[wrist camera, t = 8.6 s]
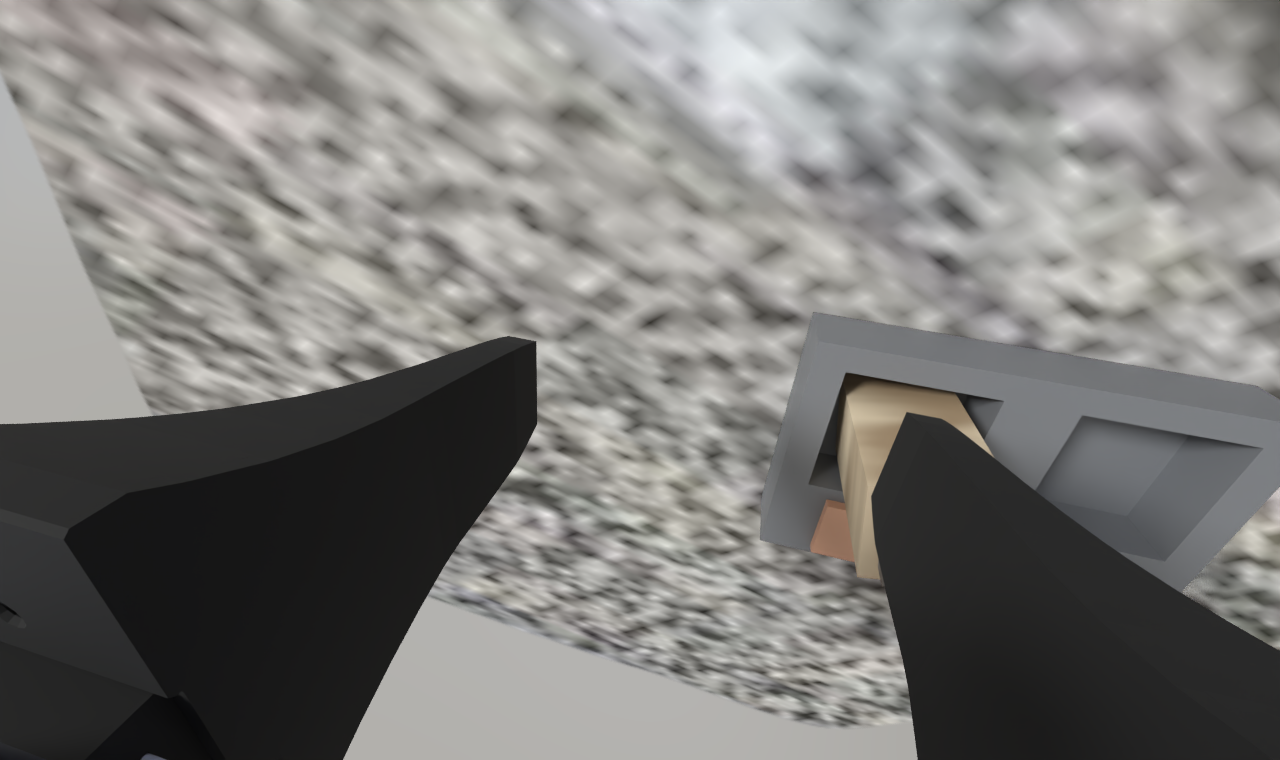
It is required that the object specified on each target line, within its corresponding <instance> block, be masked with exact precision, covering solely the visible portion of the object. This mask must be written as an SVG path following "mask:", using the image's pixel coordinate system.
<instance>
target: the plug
mask: <svg viewBox="0 0 1280 760" xmlns="http://www.w3.org/2000/svg"><path fill="white" fill-rule="evenodd" d="M906 412H909V413H915V414H920V415H925V416H930V417H936V418H941V419H943V420H945V421H947V422H948V423H950V424H951V425H953V426H954V427H955V428H957V429H958V430H960V431H961V432H962V433H964V434H965V435H966V436H967V437H969V438H970V439H971V440H973V441H974V442H975V443H976V444H978V445H979V446H980V447H981V448H983V449H984V450H985V451H986V452H988V453H989V454H990V455H991V456H992V457H994V456H993V455H992V453H991V451H990V450H989V448H988V446H987V445H986V443H985V441H984V440H983V438H982V436H981V435H980V433H979V432H978V430H977V428H976V427H975V425H974V423H973V422H972V420H971V418H970V417H969V415H968V413H967V412H966V410H965V408H964V407H963V405H962V403H961V402H960V400H959V399H958V397H957V395H956V394H955V392H952V391H947V390H941V389H936V388H930V387H925V386H919V385H914V384H908V383H903V382H897V381H892V380H886V379H881V378H875V377H870V376H864V375H859V374H853V373H845V376H844V379H843V382H842V385H841V388H840V395H839V408H838V421H837V434H836V448H835V449H836V454H837V460H838V466H839V472H840V478H841V484H842V490H843V496H844V501H845V507H846V513H847V519H848V525H849V531H850V537H851V543H852V548H853V554H854V560H855V566H856V572H857V577H860V578H870V579H880V580H881V585H882V587H885V585H884V581H883V576H882V572H881V568H880V564H879V559H878V555H877V551H876V546H875V539H874V529H873V518H872V503H871V495H872V493H873V490H874V488H875V486H876V483H877V481H878V479H879V476H880V474H881V471H882V469H883V467H884V464H885V462H886V460H887V457H888V455H889V452H890V450H891V448H892V445H893V443H894V441H895V438H896V436H897V433H898V431H899V429H900V426H901V424H902V422H903V419H904V417H905V414H906Z"/></svg>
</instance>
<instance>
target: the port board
mask: <svg viewBox="0 0 1280 760" xmlns="http://www.w3.org/2000/svg"><path fill="white" fill-rule="evenodd" d="M845 373H853V374H859V375H864V376H870V377H875V378H881V379H886V380H892V381H897V382H903V383H908V384H914V385H919V386H925V387H930V388H936V389H941V390H947V391H952V392H955V394H956V395H957V397H958V399H959V400H960V402H961V403H962V405H963V407H964V408H965V410H966V412H967V413H968V415H969V417H970V418H971V420H972V422H973V423H974V425H975V427H976V428H977V430H978V432H979V433H980V435H981V436H982V438H983V440H984V441H985V443H986V445H987V446H988V448H989V450H990V451H991V453H992V455H993V456H994V458H995V459H996V460H997V461H999V462H1000V463H1001V464H1002V465H1004V466H1005V467H1006V468H1007V469H1009V470H1010V471H1011V472H1012V473H1013V474H1015V475H1016V476H1017V477H1018V478H1020V479H1021V480H1022V481H1023V482H1025V483H1026V484H1027V485H1028V486H1030V487H1031V488H1032V489H1034V490H1035V491H1036V492H1037V493H1039V494H1040V495H1041V496H1042V497H1044V498H1045V499H1046V500H1048V501H1049V502H1050V503H1052V504H1053V505H1054V506H1056V507H1057V508H1058V509H1059V510H1061V511H1062V512H1063V513H1065V514H1066V515H1067V516H1069V517H1070V518H1072V519H1073V520H1074V521H1076V522H1077V523H1078V524H1080V525H1081V526H1083V527H1084V528H1085V529H1087V530H1088V531H1089V532H1091V533H1092V534H1093V535H1095V536H1096V537H1098V538H1099V539H1100V540H1102V541H1103V542H1105V543H1106V544H1107V545H1109V546H1110V547H1112V548H1113V549H1115V550H1116V551H1118V552H1119V553H1120V554H1122V555H1123V556H1125V557H1126V558H1128V559H1129V560H1131V561H1132V562H1134V563H1135V564H1137V565H1139V566H1140V567H1142V568H1143V569H1145V570H1146V571H1148V572H1149V573H1151V574H1152V575H1154V576H1156V577H1157V578H1159V579H1160V580H1162V581H1163V582H1165V583H1166V584H1168V585H1169V586H1171V587H1173V588H1174V589H1176V590H1177V591H1179V592H1180V593H1181V591H1182V590H1183V589H1184V588H1185V587H1186V586H1187V585H1188V584H1189V583H1190V582H1191V581H1192V580H1193V579H1194V578H1195V577H1196V575H1197V574H1198V573H1199V572H1200V571H1201V570H1202V569H1203V568H1204V567H1205V566H1206V565H1207V564H1208V563H1209V562H1210V561H1211V559H1212V558H1213V557H1214V556H1215V555H1216V554H1217V553H1218V552H1219V551H1220V550H1221V549H1222V548H1223V547H1224V546H1225V545H1226V543H1227V542H1228V541H1229V540H1230V539H1231V538H1232V537H1233V536H1234V535H1235V534H1236V533H1237V532H1238V531H1239V530H1240V529H1241V527H1242V526H1243V525H1244V524H1245V523H1246V522H1247V521H1248V520H1249V519H1250V518H1251V517H1252V516H1253V515H1254V514H1255V513H1256V511H1257V510H1258V509H1259V508H1260V507H1261V506H1262V505H1263V504H1264V503H1265V502H1266V501H1267V500H1268V499H1269V498H1270V497H1271V495H1272V494H1273V493H1274V492H1275V491H1276V490H1277V489H1278V488H1279V487H1280V399H1278V398H1276V397H1275V396H1273V395H1271V394H1270V393H1268V392H1266V391H1265V390H1263V389H1261V388H1260V387H1258V386H1253V385H1247V384H1241V383H1235V382H1229V381H1223V380H1217V379H1211V378H1205V377H1199V376H1193V375H1187V374H1181V373H1175V372H1169V371H1163V370H1157V369H1151V368H1145V367H1139V366H1133V365H1127V364H1121V363H1115V362H1109V361H1103V360H1097V359H1091V358H1085V357H1079V356H1073V355H1067V354H1061V353H1055V352H1049V351H1043V350H1037V349H1031V348H1025V347H1019V346H1013V345H1007V344H1001V343H995V342H989V341H983V340H977V339H971V338H965V337H959V336H953V335H947V334H941V333H935V332H929V331H923V330H917V329H911V328H905V327H899V326H893V325H887V324H881V323H876V322H870V321H864V320H858V319H852V318H846V317H840V316H834V315H828V314H822V313H816V312H813V315H812V319H811V323H810V326H809V330H808V333H807V337H806V340H805V344H804V348H803V351H802V355H801V358H800V362H799V365H798V369H797V373H796V376H795V380H794V383H793V387H792V390H791V394H790V398H789V401H788V405H787V408H786V412H785V416H784V419H783V423H782V426H781V430H780V433H779V437H778V441H777V444H776V448H775V451H774V455H773V458H772V462H771V466H770V469H769V473H768V476H767V480H766V483H765V487H764V491H763V494H762V499H761V527H760V540H762V541H766V542H770V543H775V544H779V545H783V546H787V547H791V548H796V549H800V550H804V551H808V552H813V553H817V554H821V555H825V556H830V557H834V558H838V559H842V560H847V561H851V562H855V560H854V554H853V548H852V543H851V537H850V531H849V525H848V519H847V513H846V507H845V501H844V496H843V490H842V484H841V478H840V472H839V466H838V460H837V454H836V449H835V448H836V434H837V421H838V408H839V395H840V388H841V385H842V382H843V379H844V376H845Z"/></svg>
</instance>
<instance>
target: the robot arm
mask: <svg viewBox="0 0 1280 760" xmlns="http://www.w3.org/2000/svg"><path fill="white" fill-rule="evenodd" d="M536 425H537V369H536V341H531V340H526V339H521V338H516V337H510V336H507V337H502V338H497V339H494V340H490V341H487V342H484V343H481V344H478V345H475V346H472V347H469V348H466V349H463V350H460V351H457V352H454V353H451V354H448V355H445V356H442V357H439V358H437V359H434V360H431V361H428V362H425V363H422V364H419V365H416V366H412V367H409V368H406V369H402V370H399V371H396V372H393V373H389V374H386V375H383V376H380V377H376V378H373V379H370V380H366V381H362V382H359V383H355V384H351V385H347V386H343V387H339V388H334V389H330V390H325V391H321V392H316V393H312V394H307V395H302V396H297V397H292V398H286V399H280V400H274V401H268V402H262V403H255V404H249V405H243V406H237V407H231V408H224V409H216V410H208V411H199V412H191V413H182V414H171V415H161V416H150V417H139V418H125V419H112V420H92V421H71V422H51V423H29V424H0V760H343V758H344V756H345V754H346V752H347V750H348V748H349V746H350V743H351V741H352V739H353V737H354V735H355V733H356V731H357V729H358V727H359V724H360V722H361V720H362V718H363V716H364V714H365V712H366V710H367V708H368V706H369V705H370V702H371V700H372V699H373V697H374V695H375V692H376V691H377V689H378V687H379V685H380V683H381V681H382V679H383V676H384V675H385V673H386V671H387V669H388V667H389V665H390V663H391V661H392V659H393V657H394V655H395V654H396V652H397V650H398V648H399V646H400V644H401V642H402V641H403V639H404V637H405V635H406V633H407V631H408V629H409V628H410V626H411V624H412V622H413V620H414V618H415V616H416V615H417V613H418V611H419V609H420V607H421V606H422V603H423V602H424V600H425V599H426V597H427V595H428V593H429V592H430V590H431V588H432V586H433V585H434V583H435V581H436V579H437V578H438V576H439V574H440V572H441V571H442V569H443V567H444V566H445V564H446V562H447V561H448V559H449V558H450V556H451V555H452V553H453V552H454V550H455V549H456V547H457V546H458V544H459V543H460V541H461V540H462V539H463V537H464V536H465V535H466V533H467V532H468V530H469V529H470V528H471V526H472V525H473V524H474V522H475V521H476V519H477V518H478V517H479V515H480V514H481V512H482V511H483V510H484V508H485V507H486V506H487V504H488V503H489V501H490V500H491V499H492V497H493V496H494V495H495V493H496V492H497V490H498V489H499V488H500V486H501V485H502V483H503V482H504V481H505V479H506V478H507V476H508V475H509V474H510V472H511V471H512V469H513V468H514V466H515V465H516V463H517V462H518V460H519V458H520V457H521V455H522V453H523V451H524V449H525V447H526V445H527V443H528V441H529V439H530V437H531V435H532V433H533V431H534V429H535V427H536ZM871 503H872V518H873V529H874V539H875V546H876V551H877V555H878V559H879V564H880V568H881V572H882V576H883V581H884V585H885V589H886V593H887V597H888V601H889V605H890V609H891V614H892V618H893V622H894V626H895V630H896V634H897V638H898V642H899V646H900V650H901V655H902V659H903V663H904V668H905V673H906V678H907V684H908V689H909V696H910V704H911V711H912V719H913V726H914V734H915V741H916V749H917V757H918V760H1280V651H1279V650H1277V649H1275V648H1273V647H1272V646H1270V645H1268V644H1266V643H1265V642H1263V641H1261V640H1259V639H1258V638H1256V637H1254V636H1252V635H1251V634H1249V633H1247V632H1246V631H1244V630H1242V629H1240V628H1239V627H1237V626H1235V625H1233V624H1232V623H1230V622H1228V621H1226V620H1225V619H1223V618H1221V617H1220V616H1218V615H1216V614H1215V613H1213V612H1211V611H1210V610H1208V609H1206V608H1205V607H1203V606H1201V605H1200V604H1198V603H1196V602H1195V601H1193V600H1191V599H1190V598H1188V597H1187V596H1185V595H1183V594H1182V593H1180V592H1179V591H1177V590H1176V589H1174V588H1173V587H1171V586H1169V585H1168V584H1166V583H1165V582H1163V581H1162V580H1160V579H1159V578H1157V577H1156V576H1154V575H1152V574H1151V573H1149V572H1148V571H1146V570H1145V569H1143V568H1142V567H1140V566H1139V565H1137V564H1135V563H1134V562H1132V561H1131V560H1129V559H1128V558H1126V557H1125V556H1123V555H1122V554H1120V553H1119V552H1118V551H1116V550H1115V549H1113V548H1112V547H1110V546H1109V545H1107V544H1106V543H1105V542H1103V541H1102V540H1100V539H1099V538H1098V537H1096V536H1095V535H1093V534H1092V533H1091V532H1089V531H1088V530H1087V529H1085V528H1084V527H1083V526H1081V525H1080V524H1078V523H1077V522H1076V521H1074V520H1073V519H1072V518H1070V517H1069V516H1067V515H1066V514H1065V513H1063V512H1062V511H1061V510H1059V509H1058V508H1057V507H1056V506H1054V505H1053V504H1052V503H1050V502H1049V501H1048V500H1046V499H1045V498H1044V497H1042V496H1041V495H1040V494H1039V493H1037V492H1036V491H1035V490H1034V489H1032V488H1031V487H1030V486H1028V485H1027V484H1026V483H1025V482H1023V481H1022V480H1021V479H1020V478H1018V477H1017V476H1016V475H1015V474H1013V473H1012V472H1011V471H1010V470H1009V469H1007V468H1006V467H1005V466H1004V465H1002V464H1001V463H1000V462H999V461H997V460H996V459H995V458H994V457H992V456H991V455H990V454H989V453H988V452H986V451H985V450H984V449H983V448H981V447H980V446H979V445H978V444H976V443H975V442H974V441H973V440H971V439H970V438H969V437H967V436H966V435H965V434H964V433H962V432H961V431H960V430H958V429H957V428H955V427H954V426H953V425H951V424H950V423H948V422H947V421H945V420H943V419H941V418H936V417H930V416H925V415H920V414H915V413H909V412H906V414H905V417H904V419H903V422H902V424H901V426H900V429H899V431H898V433H897V436H896V438H895V441H894V443H893V445H892V448H891V450H890V452H889V455H888V457H887V460H886V462H885V464H884V467H883V469H882V471H881V474H880V476H879V479H878V481H877V483H876V486H875V488H874V490H873V493H872V495H871Z"/></svg>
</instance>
